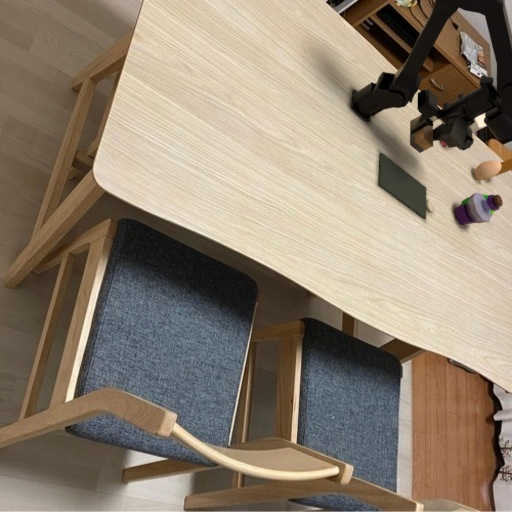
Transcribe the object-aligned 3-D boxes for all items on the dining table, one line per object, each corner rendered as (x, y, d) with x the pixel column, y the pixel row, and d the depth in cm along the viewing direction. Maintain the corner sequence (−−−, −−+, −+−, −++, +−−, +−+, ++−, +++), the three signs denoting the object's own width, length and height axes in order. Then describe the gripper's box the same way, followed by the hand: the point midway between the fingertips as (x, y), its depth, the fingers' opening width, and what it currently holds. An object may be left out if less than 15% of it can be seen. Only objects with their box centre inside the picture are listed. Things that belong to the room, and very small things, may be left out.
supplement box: (485, 180, 176) (516, 167, 169) (481, 170, 177) (512, 156, 170) (489, 179, 179) (520, 166, 172) (485, 169, 179) (516, 155, 172)
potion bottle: (450, 196, 158) (490, 178, 150) (468, 210, 163) (508, 194, 154) (450, 221, 154) (492, 205, 146) (469, 236, 158) (510, 220, 150)
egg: (481, 185, 174) (507, 174, 168) (472, 182, 170) (498, 170, 165) (477, 169, 175) (502, 157, 169) (468, 166, 172) (494, 154, 166)
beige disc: (426, 207, 147) (428, 206, 146) (426, 198, 148) (428, 197, 148) (430, 213, 149) (433, 213, 148) (430, 204, 150) (433, 203, 150)
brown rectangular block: (409, 145, 140) (423, 137, 137) (409, 121, 144) (423, 113, 141) (419, 153, 142) (433, 146, 139) (419, 129, 146) (433, 122, 143)
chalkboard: (378, 185, 137) (380, 184, 136) (379, 153, 142) (381, 152, 141) (424, 219, 145) (426, 218, 145) (424, 188, 150) (426, 187, 150)
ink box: (443, 147, 165) (480, 128, 157) (435, 131, 165) (472, 111, 157) (454, 142, 171) (491, 124, 163) (447, 127, 171) (483, 108, 163)
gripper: (449, 108, 123) (391, 141, 134) (496, 152, 133) (438, 179, 144) (448, 72, 129) (392, 106, 140) (493, 117, 138) (438, 146, 149)
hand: (416, 136), depth 143 cm, fingers closed on brown rectangular block, 4 cm apart
